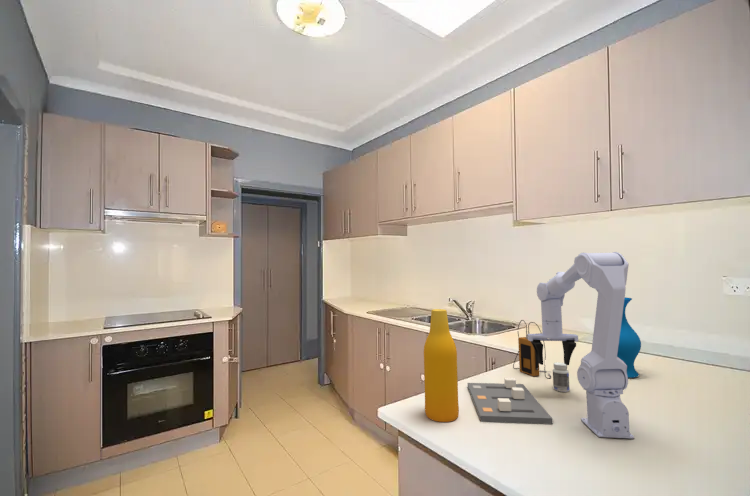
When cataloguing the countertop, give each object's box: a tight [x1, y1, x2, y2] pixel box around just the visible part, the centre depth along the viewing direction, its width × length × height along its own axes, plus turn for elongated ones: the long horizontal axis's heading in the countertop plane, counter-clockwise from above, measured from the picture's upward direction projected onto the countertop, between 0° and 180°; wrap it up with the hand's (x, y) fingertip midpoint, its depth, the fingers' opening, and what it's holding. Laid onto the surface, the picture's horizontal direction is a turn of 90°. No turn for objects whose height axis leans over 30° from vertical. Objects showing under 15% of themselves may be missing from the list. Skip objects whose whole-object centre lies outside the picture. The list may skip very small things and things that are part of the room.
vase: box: [617, 296, 642, 379], centre depth 129 cm, size 12×13×28 cm
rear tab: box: [503, 377, 517, 388], centre depth 113 cm, size 2×3×2 cm
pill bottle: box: [552, 361, 570, 393], centre depth 115 cm, size 5×5×8 cm
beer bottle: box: [423, 308, 460, 423], centre depth 97 cm, size 9×9×29 cm
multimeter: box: [512, 319, 552, 379], centre depth 133 cm, size 15×10×20 cm
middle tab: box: [512, 387, 525, 399], centre depth 104 cm, size 2×3×2 cm
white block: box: [497, 398, 511, 411], centre depth 96 cm, size 2×3×2 cm
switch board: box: [467, 382, 554, 425], centre depth 104 cm, size 26×18×2 cm
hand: (553, 364), depth 110 cm, fingers open, 7 cm apart
